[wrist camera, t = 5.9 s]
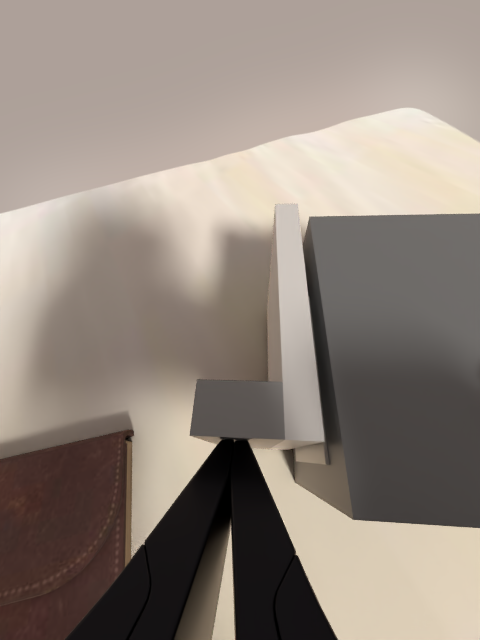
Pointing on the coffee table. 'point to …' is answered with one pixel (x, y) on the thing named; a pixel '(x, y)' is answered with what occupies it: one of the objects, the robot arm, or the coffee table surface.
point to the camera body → (396, 367)
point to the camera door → (272, 363)
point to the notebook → (62, 533)
